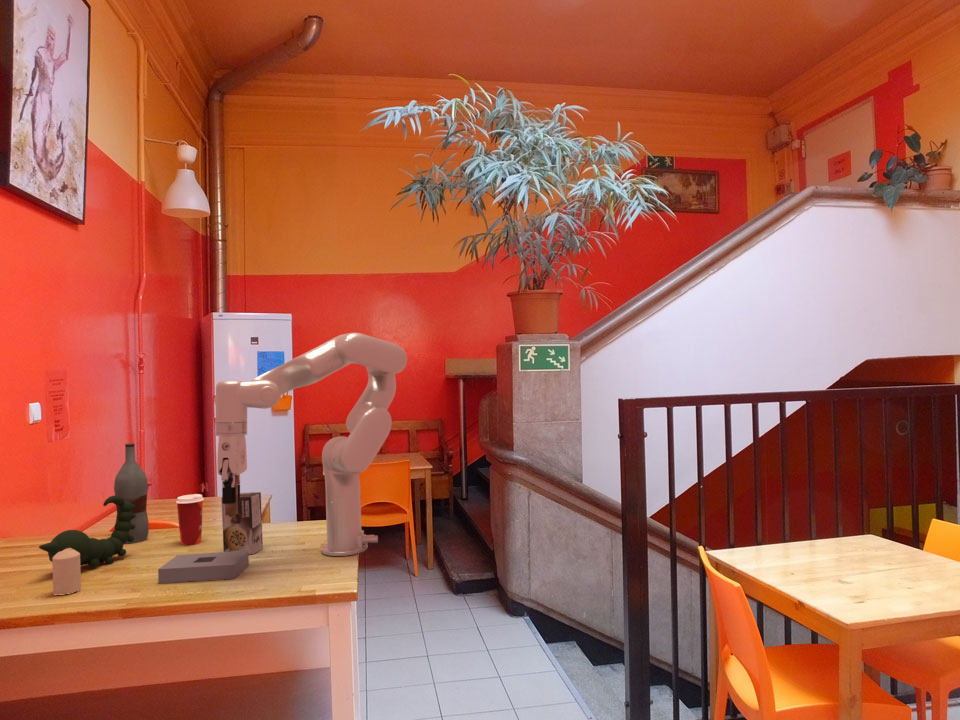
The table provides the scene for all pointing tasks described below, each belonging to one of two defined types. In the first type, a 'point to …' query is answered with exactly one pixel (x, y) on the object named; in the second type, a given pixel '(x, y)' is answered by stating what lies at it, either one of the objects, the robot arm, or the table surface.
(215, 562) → the hole block
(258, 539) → the coffee box
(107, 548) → the toy figurine
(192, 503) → the paper cup
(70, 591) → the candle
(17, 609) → the table surface
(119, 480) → the bottle
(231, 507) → the walnut peg
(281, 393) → the robot arm
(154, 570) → the table surface
